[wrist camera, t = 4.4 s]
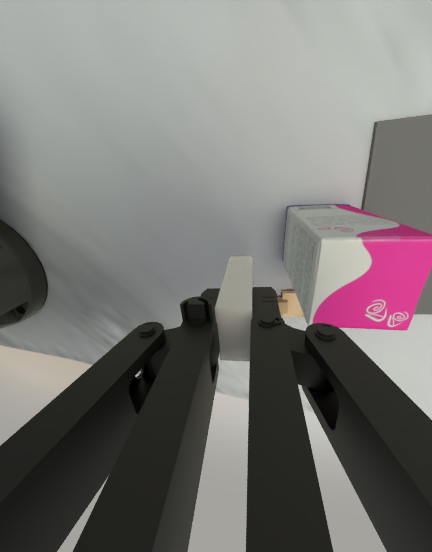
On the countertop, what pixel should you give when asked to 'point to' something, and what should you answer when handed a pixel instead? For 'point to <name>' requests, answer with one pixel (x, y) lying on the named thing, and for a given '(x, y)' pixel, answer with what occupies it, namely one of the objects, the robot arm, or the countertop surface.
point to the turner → (289, 304)
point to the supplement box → (355, 266)
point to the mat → (403, 180)
